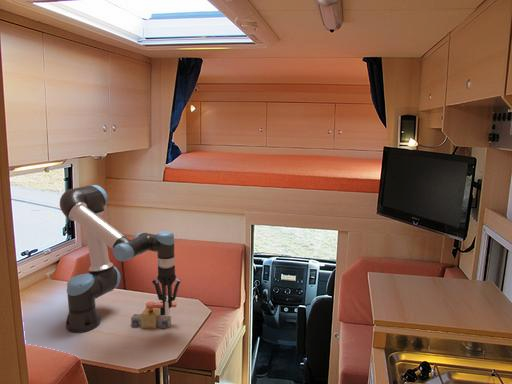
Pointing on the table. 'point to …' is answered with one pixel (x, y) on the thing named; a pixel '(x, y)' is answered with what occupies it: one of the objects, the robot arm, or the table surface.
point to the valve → (151, 319)
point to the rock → (161, 309)
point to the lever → (157, 304)
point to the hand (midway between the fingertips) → (167, 313)
